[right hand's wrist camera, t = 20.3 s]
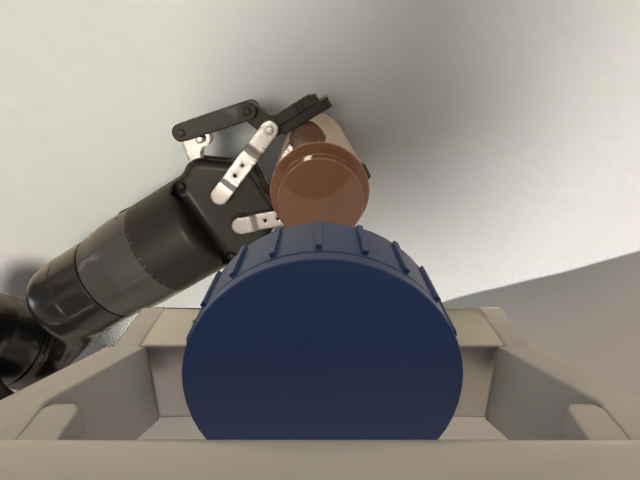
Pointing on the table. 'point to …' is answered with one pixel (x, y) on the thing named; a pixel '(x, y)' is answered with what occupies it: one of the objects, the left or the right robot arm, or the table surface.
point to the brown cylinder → (318, 176)
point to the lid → (322, 342)
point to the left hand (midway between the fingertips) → (347, 136)
